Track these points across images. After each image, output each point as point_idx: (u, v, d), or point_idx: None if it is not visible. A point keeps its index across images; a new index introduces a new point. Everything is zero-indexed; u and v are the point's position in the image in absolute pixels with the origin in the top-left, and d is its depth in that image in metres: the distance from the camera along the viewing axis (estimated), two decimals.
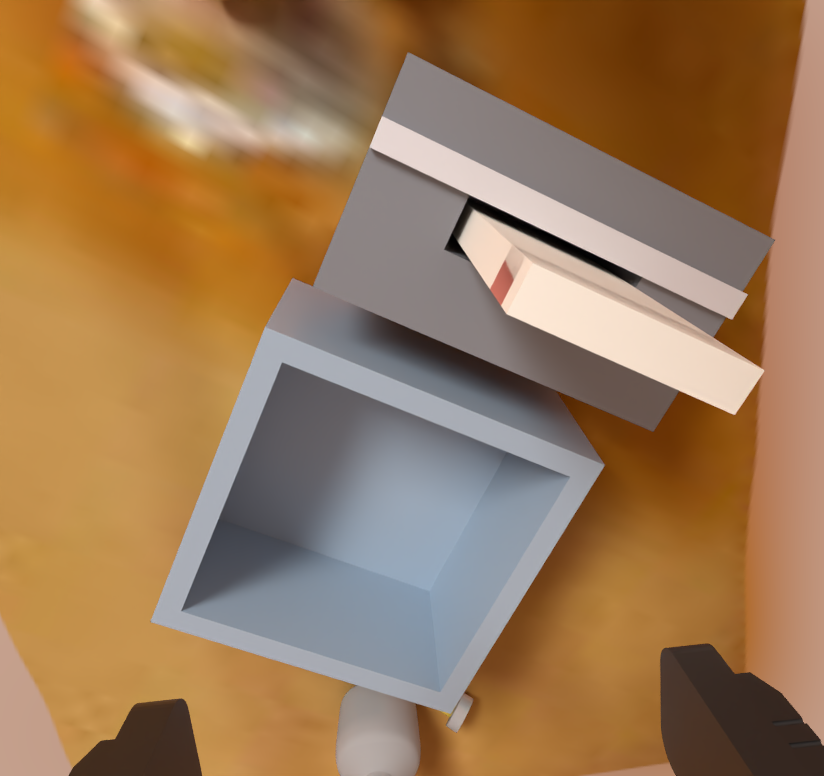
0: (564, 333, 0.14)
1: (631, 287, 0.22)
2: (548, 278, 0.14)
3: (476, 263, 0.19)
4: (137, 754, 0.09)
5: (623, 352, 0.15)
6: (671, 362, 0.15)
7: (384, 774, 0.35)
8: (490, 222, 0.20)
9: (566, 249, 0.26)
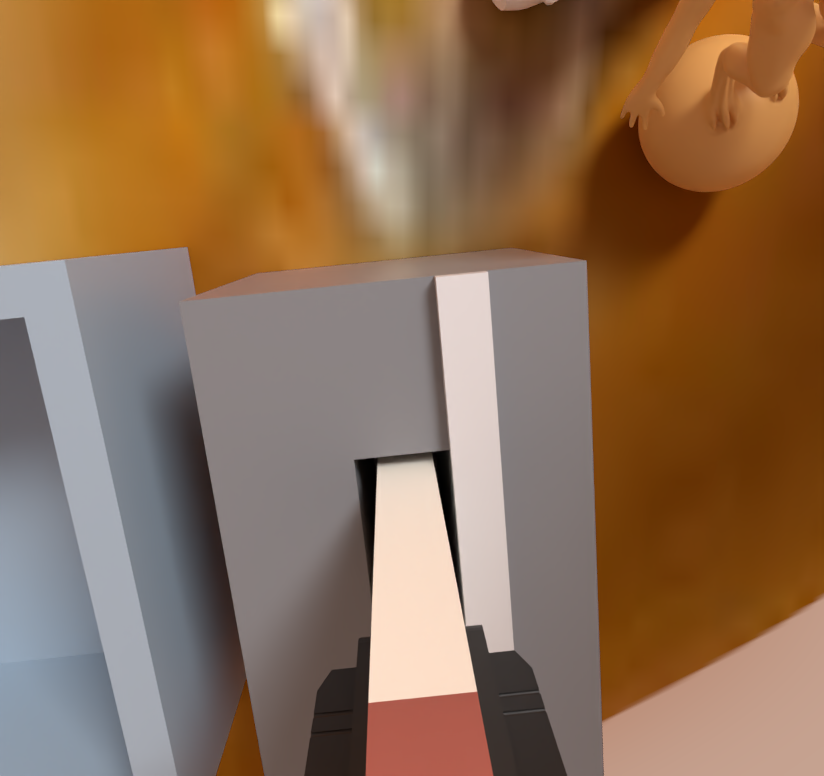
0: None
1: None
2: None
3: (380, 570, 0.10)
4: None
5: None
6: None
7: None
8: None
9: None
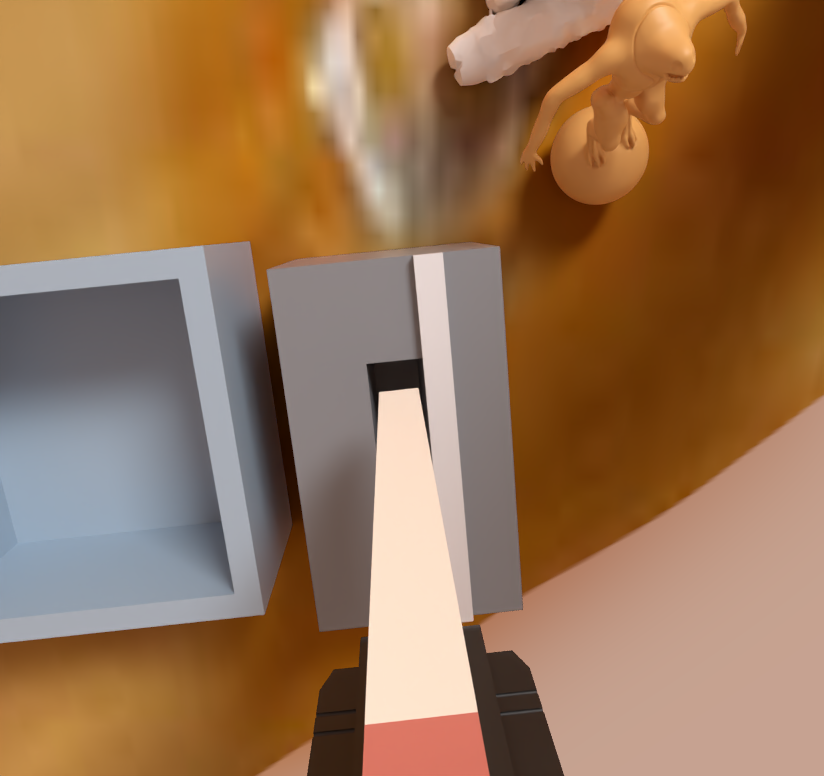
0: None
1: None
2: None
3: (377, 581, 0.10)
4: None
5: None
6: None
7: None
8: None
9: None
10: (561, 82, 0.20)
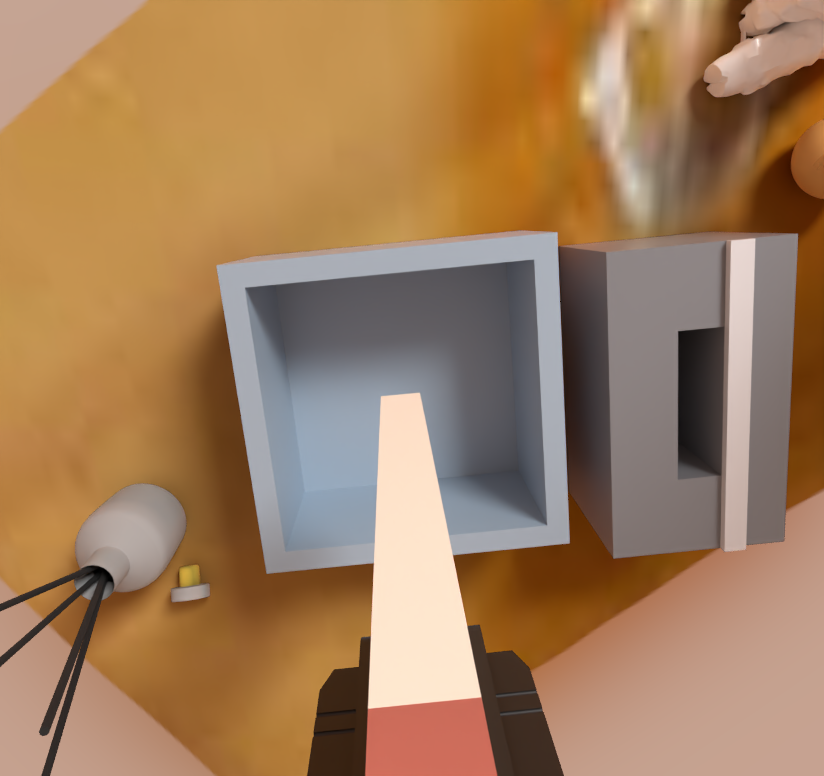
0: None
1: None
2: None
3: (380, 574, 0.10)
4: None
5: None
6: None
7: (128, 562, 0.33)
8: None
9: None
10: None
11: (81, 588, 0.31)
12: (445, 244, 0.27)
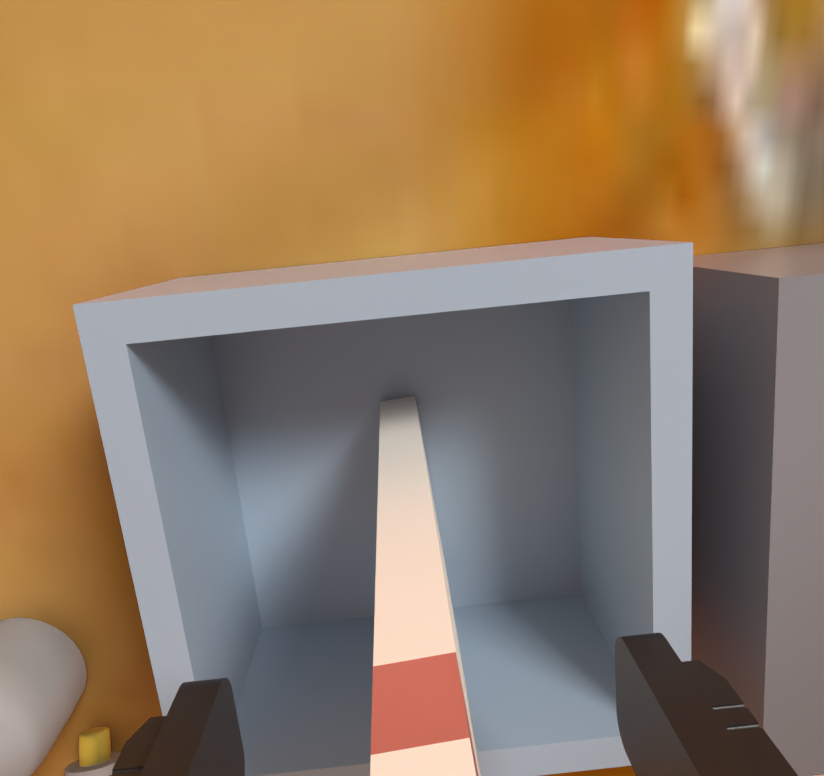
0: None
1: None
2: None
3: (381, 564, 0.12)
4: (190, 728, 0.10)
5: None
6: None
7: None
8: (435, 522, 0.14)
9: None
10: None
11: None
12: (490, 265, 0.15)
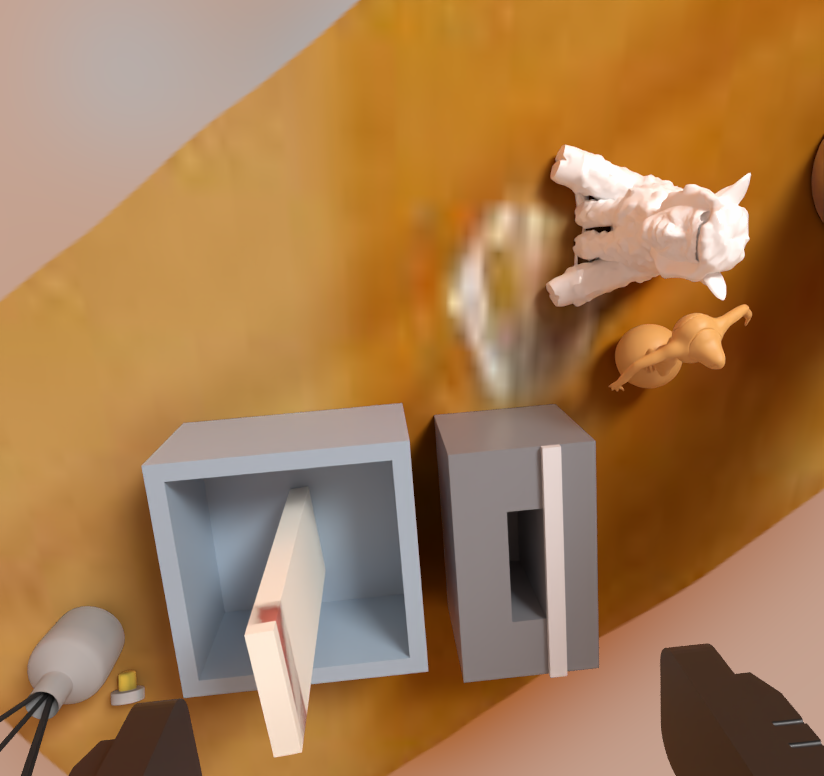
0: (254, 663, 0.28)
1: (313, 640, 0.36)
2: (272, 641, 0.27)
3: (265, 572, 0.32)
4: (137, 754, 0.09)
5: (265, 692, 0.28)
6: (276, 714, 0.28)
7: (71, 684, 0.40)
8: (292, 556, 0.34)
9: (316, 579, 0.40)
10: (643, 359, 0.33)
11: (31, 711, 0.38)
12: (322, 449, 0.35)
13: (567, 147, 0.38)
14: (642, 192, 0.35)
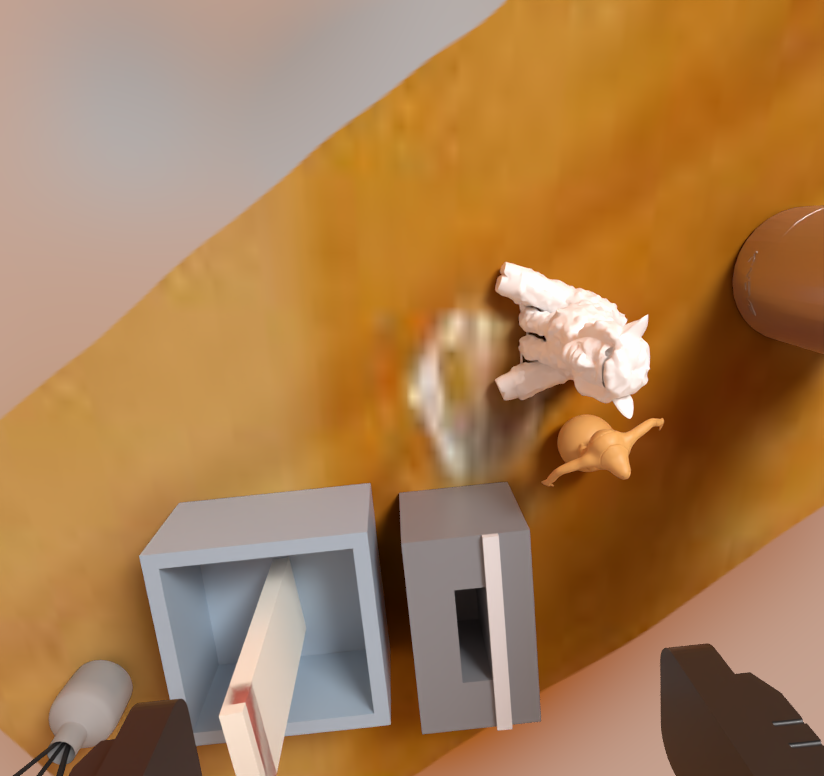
0: (227, 738, 0.33)
1: (288, 702, 0.42)
2: (241, 720, 0.33)
3: (242, 651, 0.38)
4: (137, 754, 0.09)
5: (237, 761, 0.34)
6: None
7: (85, 732, 0.46)
8: (267, 634, 0.40)
9: (294, 642, 0.46)
10: (563, 467, 0.38)
11: (51, 758, 0.44)
12: (292, 540, 0.41)
13: (507, 265, 0.44)
14: (567, 315, 0.40)
